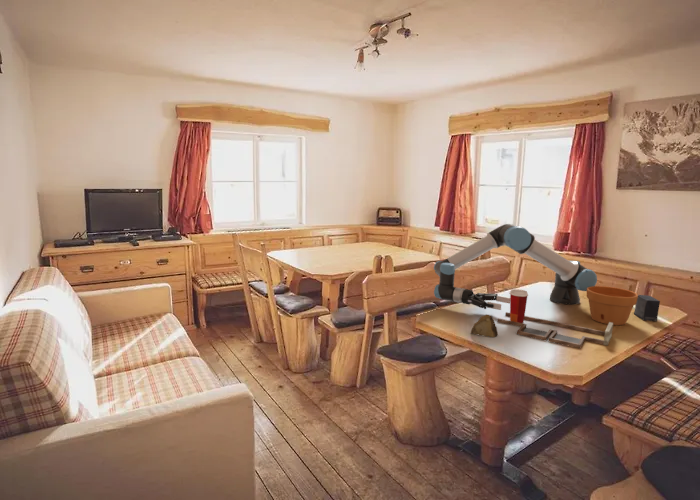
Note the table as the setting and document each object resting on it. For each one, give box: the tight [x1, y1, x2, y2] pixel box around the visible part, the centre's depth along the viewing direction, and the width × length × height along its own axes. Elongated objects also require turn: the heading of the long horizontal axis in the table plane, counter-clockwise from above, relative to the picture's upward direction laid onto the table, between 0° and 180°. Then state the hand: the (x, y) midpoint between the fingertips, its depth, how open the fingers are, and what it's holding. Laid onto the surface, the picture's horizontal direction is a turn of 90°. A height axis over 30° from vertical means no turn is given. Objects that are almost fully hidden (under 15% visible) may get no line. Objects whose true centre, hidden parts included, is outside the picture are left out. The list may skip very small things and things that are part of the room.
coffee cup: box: [509, 288, 529, 324], centre depth 201 cm, size 8×8×15 cm
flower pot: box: [586, 285, 639, 326], centre depth 204 cm, size 21×21×15 cm
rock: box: [470, 314, 499, 338], centre depth 185 cm, size 11×9×10 cm
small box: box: [633, 294, 661, 322], centre depth 209 cm, size 11×6×10 cm, turn 168°
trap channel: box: [497, 311, 614, 349], centre depth 188 cm, size 46×24×6 cm, turn 53°
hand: (505, 303), depth 204 cm, fingers open, 13 cm apart
